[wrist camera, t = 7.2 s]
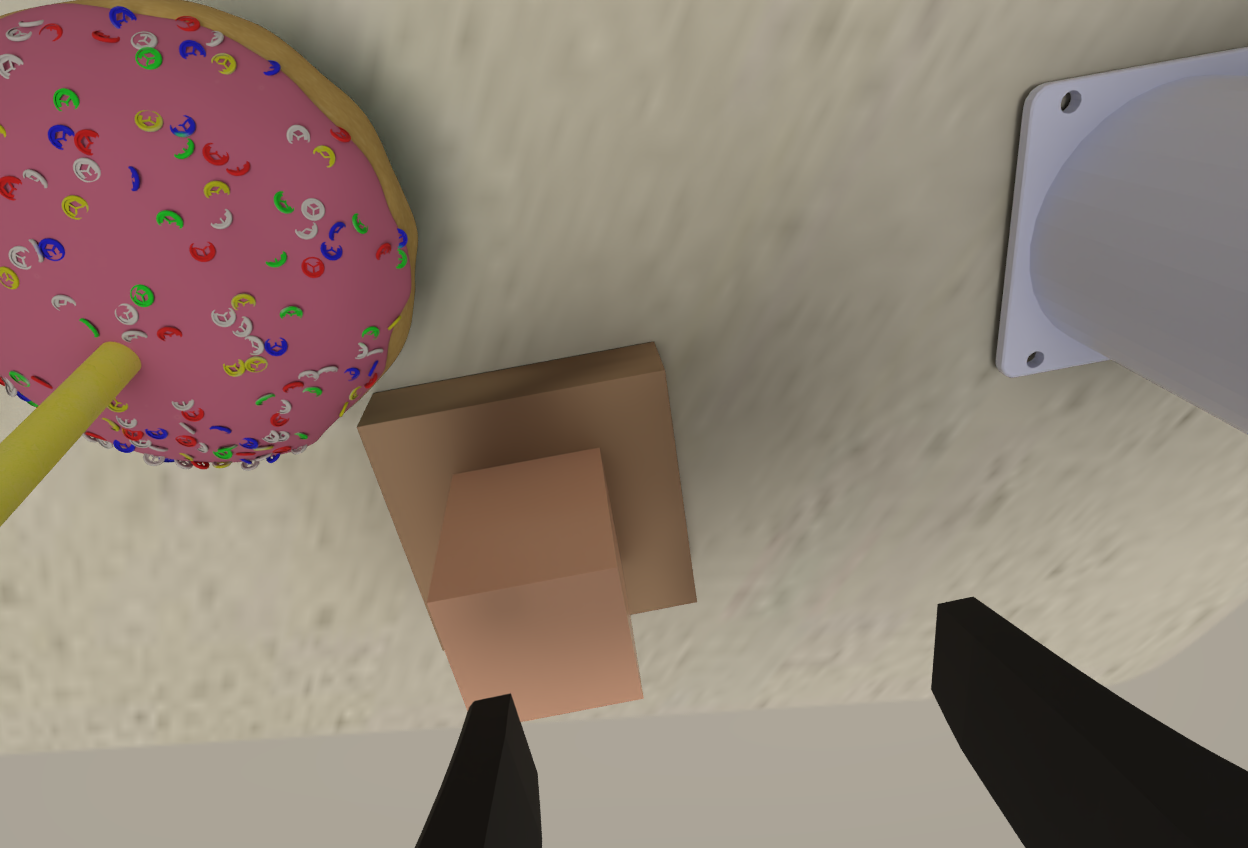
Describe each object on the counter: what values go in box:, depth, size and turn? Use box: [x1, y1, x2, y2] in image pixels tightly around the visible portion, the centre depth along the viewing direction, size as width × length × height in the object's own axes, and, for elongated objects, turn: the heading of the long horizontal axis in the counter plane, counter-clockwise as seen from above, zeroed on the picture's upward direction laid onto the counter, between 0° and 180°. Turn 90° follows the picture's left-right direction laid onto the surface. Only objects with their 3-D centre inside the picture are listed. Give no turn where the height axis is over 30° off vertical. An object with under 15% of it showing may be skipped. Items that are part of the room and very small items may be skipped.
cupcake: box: [0, 0, 418, 526], centre depth 12 cm, size 9×8×12 cm
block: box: [427, 448, 644, 722], centre depth 18 cm, size 4×4×5 cm
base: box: [357, 342, 697, 651], centre depth 21 cm, size 8×8×2 cm
